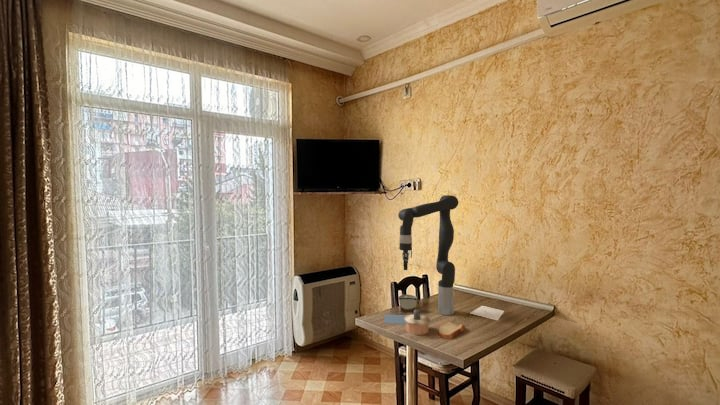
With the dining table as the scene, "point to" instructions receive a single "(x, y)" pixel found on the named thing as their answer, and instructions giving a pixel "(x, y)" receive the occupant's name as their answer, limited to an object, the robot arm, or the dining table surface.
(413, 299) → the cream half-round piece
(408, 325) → the bowl
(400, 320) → the mat
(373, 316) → the dining table surface
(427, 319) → the lid
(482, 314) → the paper sheet
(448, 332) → the bread slice
